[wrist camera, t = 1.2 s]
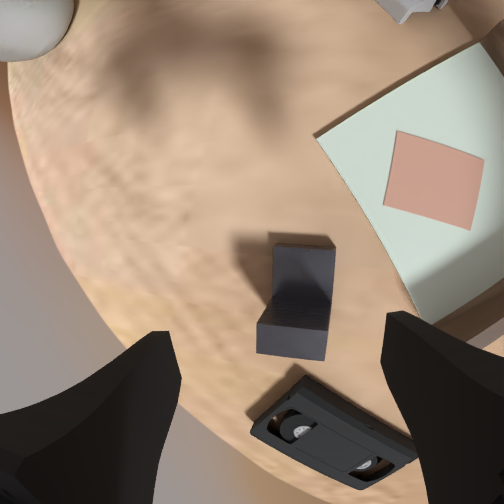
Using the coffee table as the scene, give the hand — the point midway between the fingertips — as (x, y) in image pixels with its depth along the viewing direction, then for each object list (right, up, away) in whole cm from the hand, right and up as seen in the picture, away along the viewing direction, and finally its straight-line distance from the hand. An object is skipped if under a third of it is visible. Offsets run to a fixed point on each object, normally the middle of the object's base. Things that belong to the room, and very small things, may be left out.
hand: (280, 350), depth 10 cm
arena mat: (+14, +8, +6) cm, 17 cm away
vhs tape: (+7, -13, +15) cm, 21 cm away
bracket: (+3, +1, +11) cm, 12 cm away
